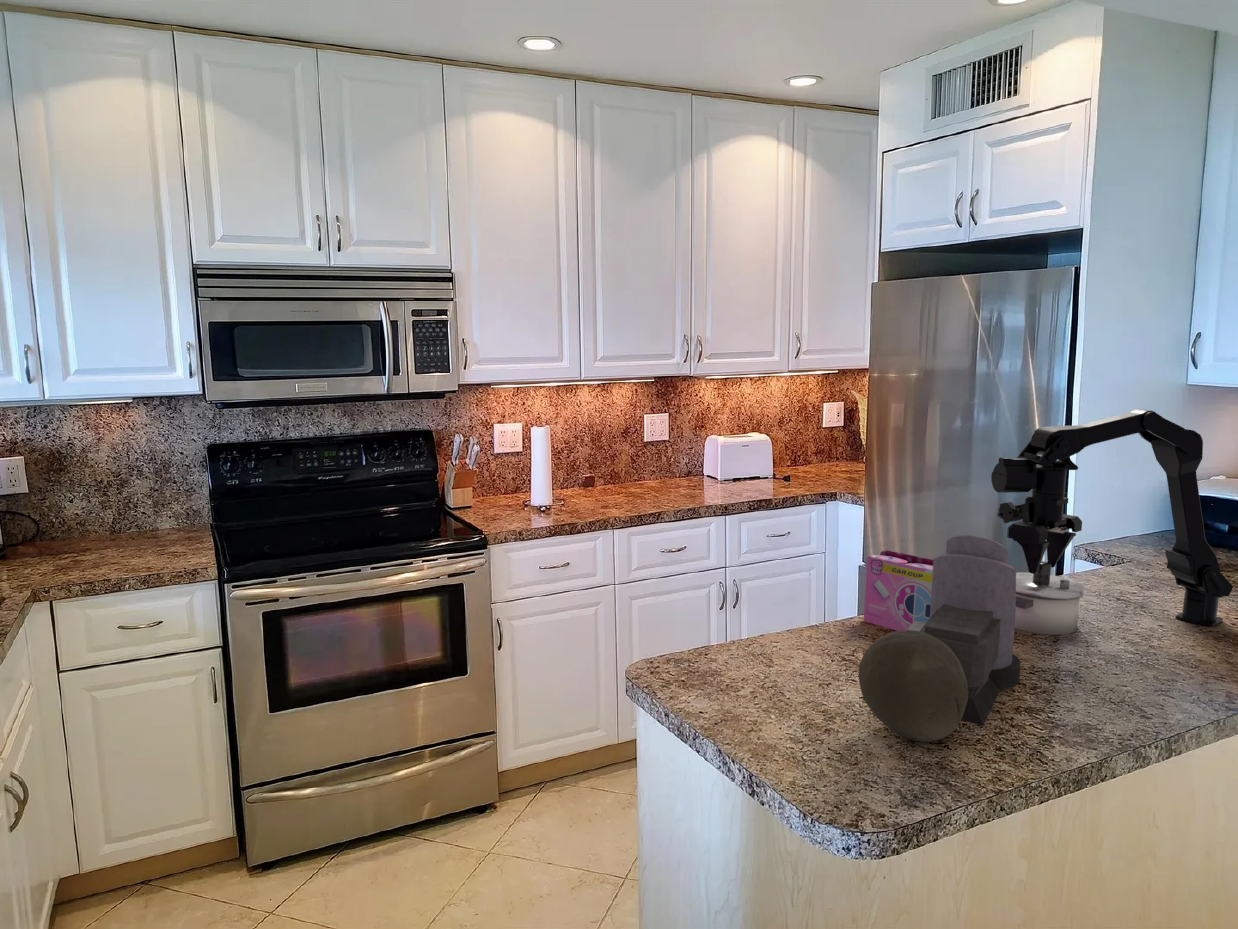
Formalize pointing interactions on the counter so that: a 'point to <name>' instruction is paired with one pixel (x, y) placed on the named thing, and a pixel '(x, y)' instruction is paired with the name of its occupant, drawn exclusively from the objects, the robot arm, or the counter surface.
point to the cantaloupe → (914, 685)
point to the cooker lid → (1047, 585)
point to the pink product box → (897, 590)
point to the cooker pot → (1046, 615)
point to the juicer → (976, 617)
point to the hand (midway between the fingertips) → (1041, 570)
